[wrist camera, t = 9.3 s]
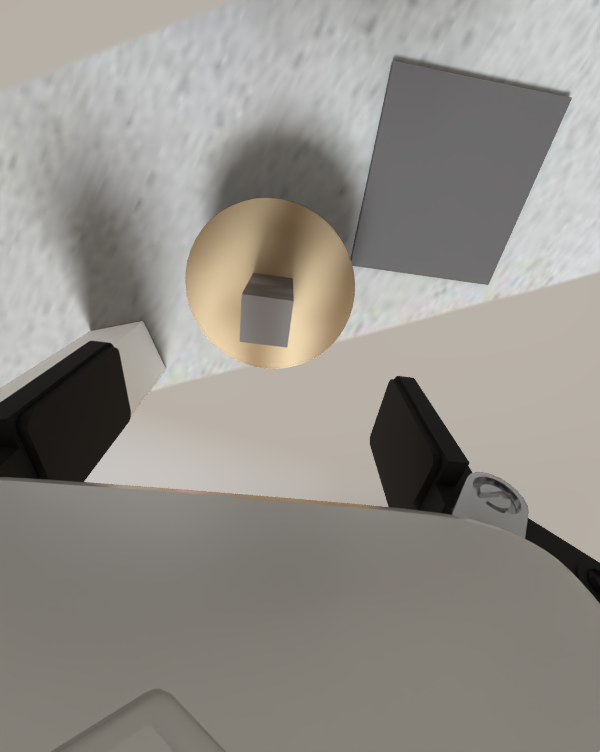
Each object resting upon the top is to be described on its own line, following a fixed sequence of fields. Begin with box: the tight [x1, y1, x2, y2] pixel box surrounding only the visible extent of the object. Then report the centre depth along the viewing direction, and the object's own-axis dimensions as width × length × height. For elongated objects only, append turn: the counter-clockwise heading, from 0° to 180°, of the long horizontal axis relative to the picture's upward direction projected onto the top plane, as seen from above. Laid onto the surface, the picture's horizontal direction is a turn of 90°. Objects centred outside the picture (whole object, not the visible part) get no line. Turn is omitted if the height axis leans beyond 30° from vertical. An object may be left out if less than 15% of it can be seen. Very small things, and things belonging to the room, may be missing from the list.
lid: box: [186, 198, 355, 369], centre depth 21 cm, size 13×13×7 cm
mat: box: [351, 61, 572, 285], centre depth 25 cm, size 14×14×1 cm
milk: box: [0, 321, 166, 416], centre depth 23 cm, size 6×6×22 cm
